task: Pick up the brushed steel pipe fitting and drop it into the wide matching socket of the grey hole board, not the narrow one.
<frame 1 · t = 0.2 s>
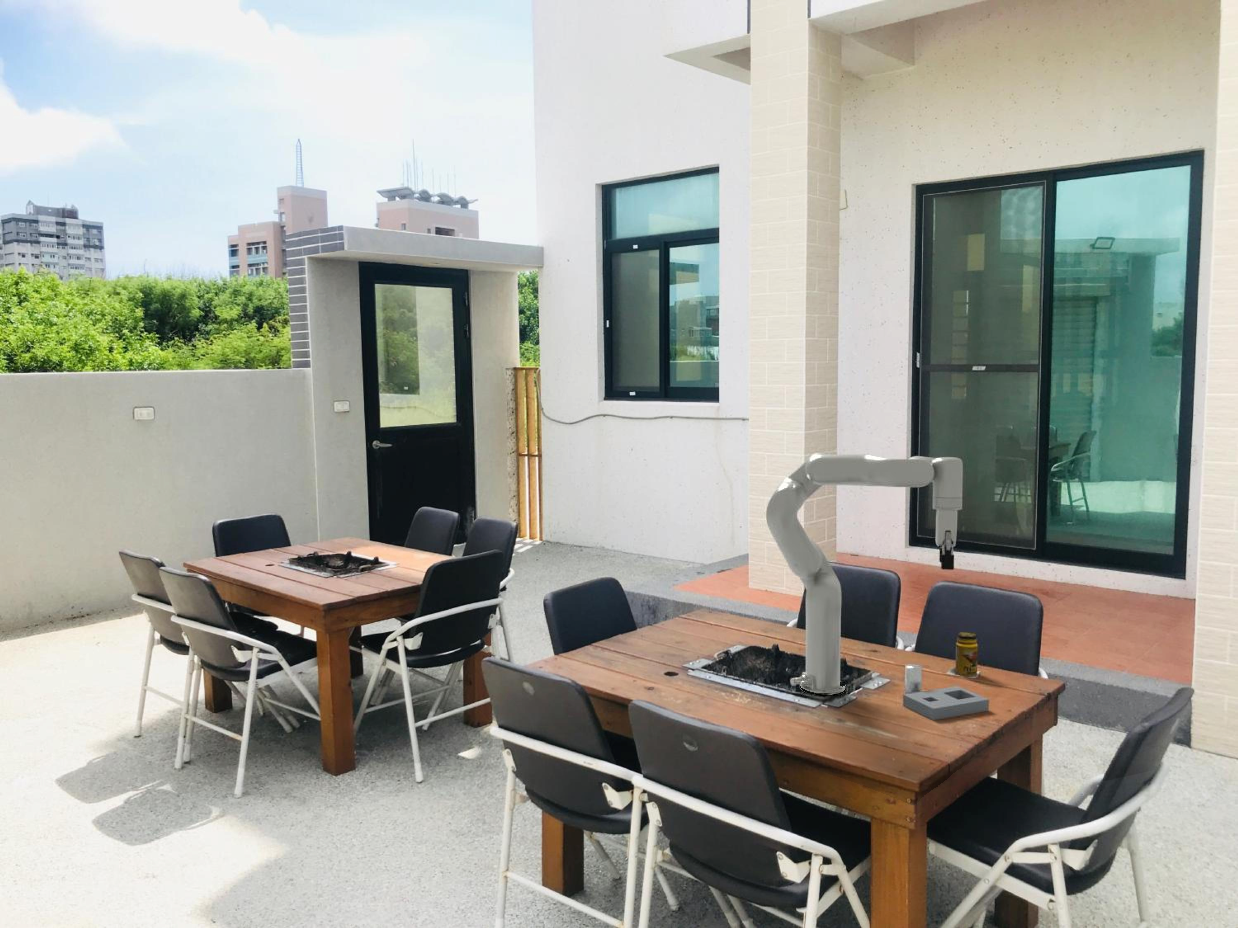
hand: (946, 565, 262), 36 cm above the table, tool pointing down, fingers open, 9 cm apart
fitting: (913, 694, 267), on the table
condiment: (963, 673, 286), on the table
grey hole board: (945, 707, 256), on the table
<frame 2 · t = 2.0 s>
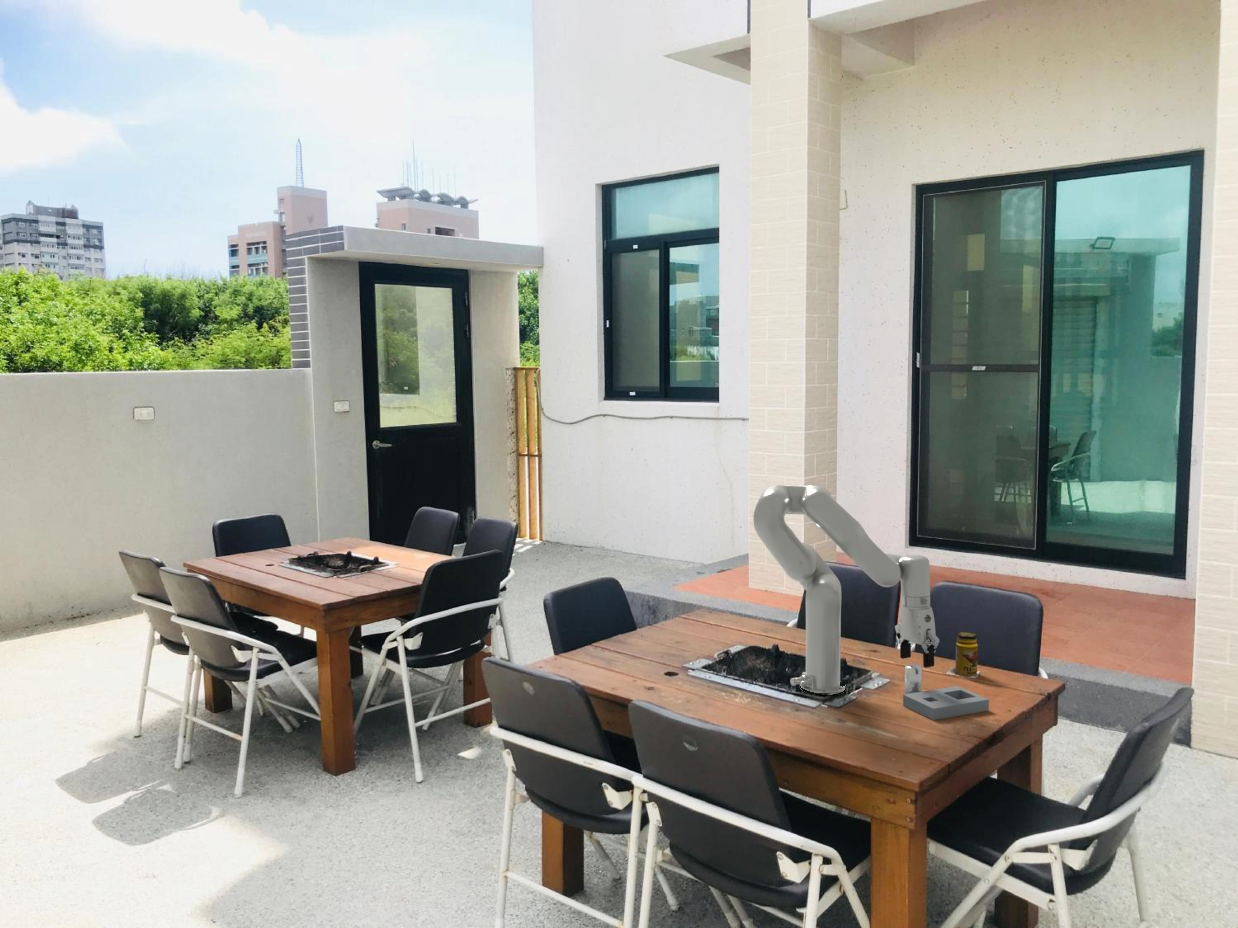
hand: (917, 662, 266), 9 cm above the table, tool pointing down, fingers open, 9 cm apart
nothing on the table moved.
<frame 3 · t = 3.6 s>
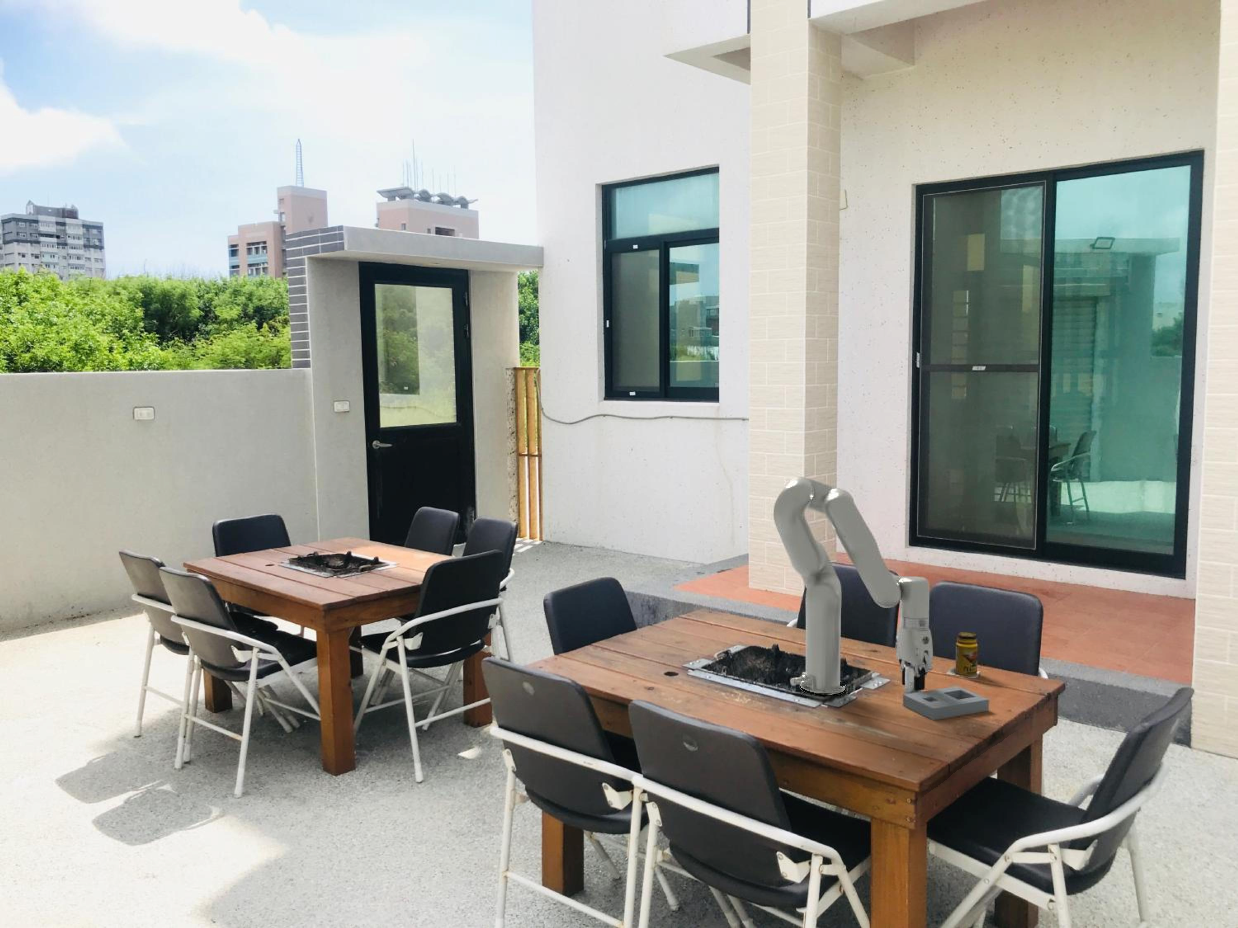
hand: (913, 686, 267), 2 cm above the table, tool pointing down, fingers closed on fitting, 4 cm apart
fitting: (913, 694, 267), on the table, touching gripper
everything else where it was.
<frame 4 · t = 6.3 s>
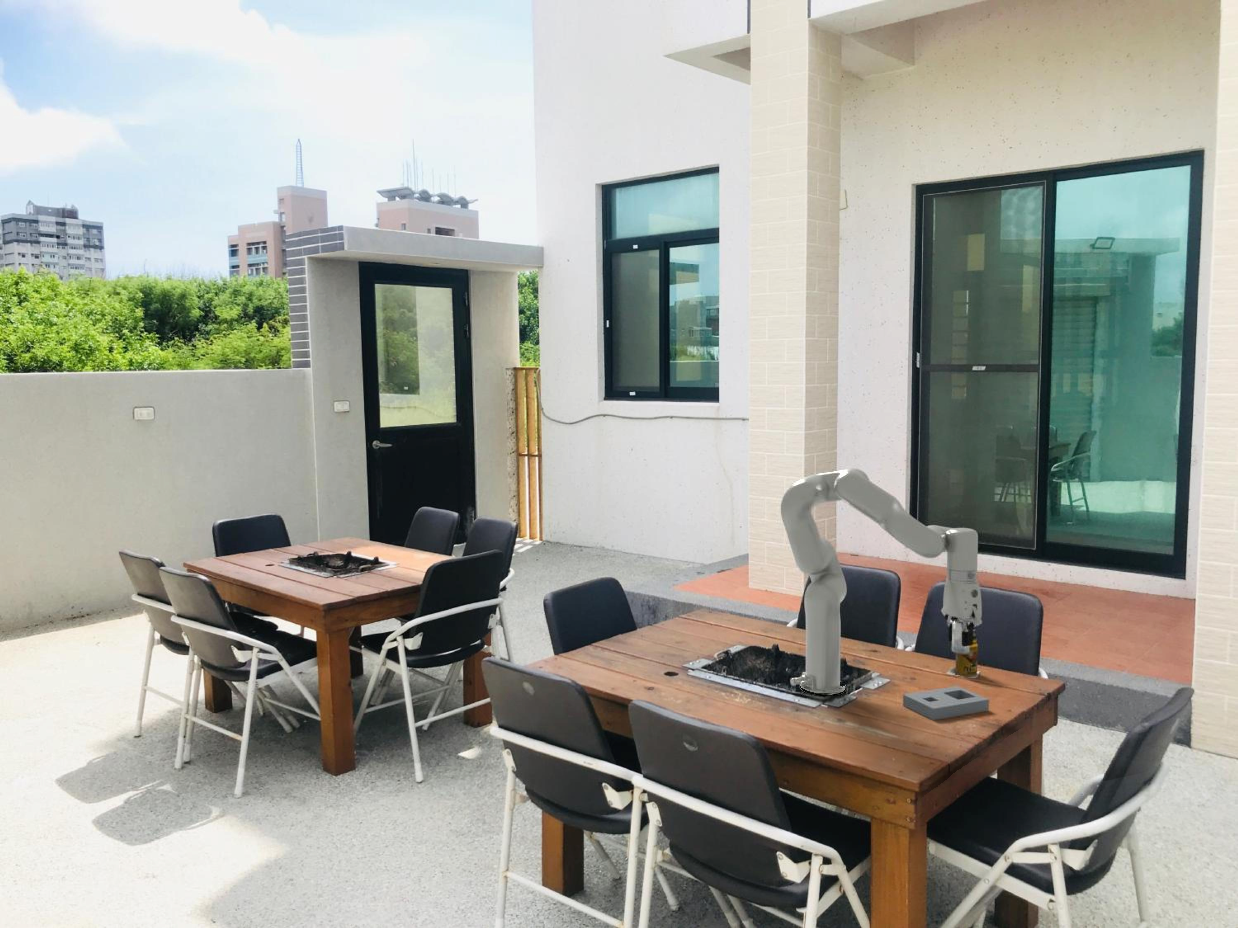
hand: (960, 642, 256), 17 cm above the table, tool pointing down, fingers closed on fitting, 4 cm apart
fitting: (960, 651, 257), point 15 cm above the table, touching gripper
everything else where it was.
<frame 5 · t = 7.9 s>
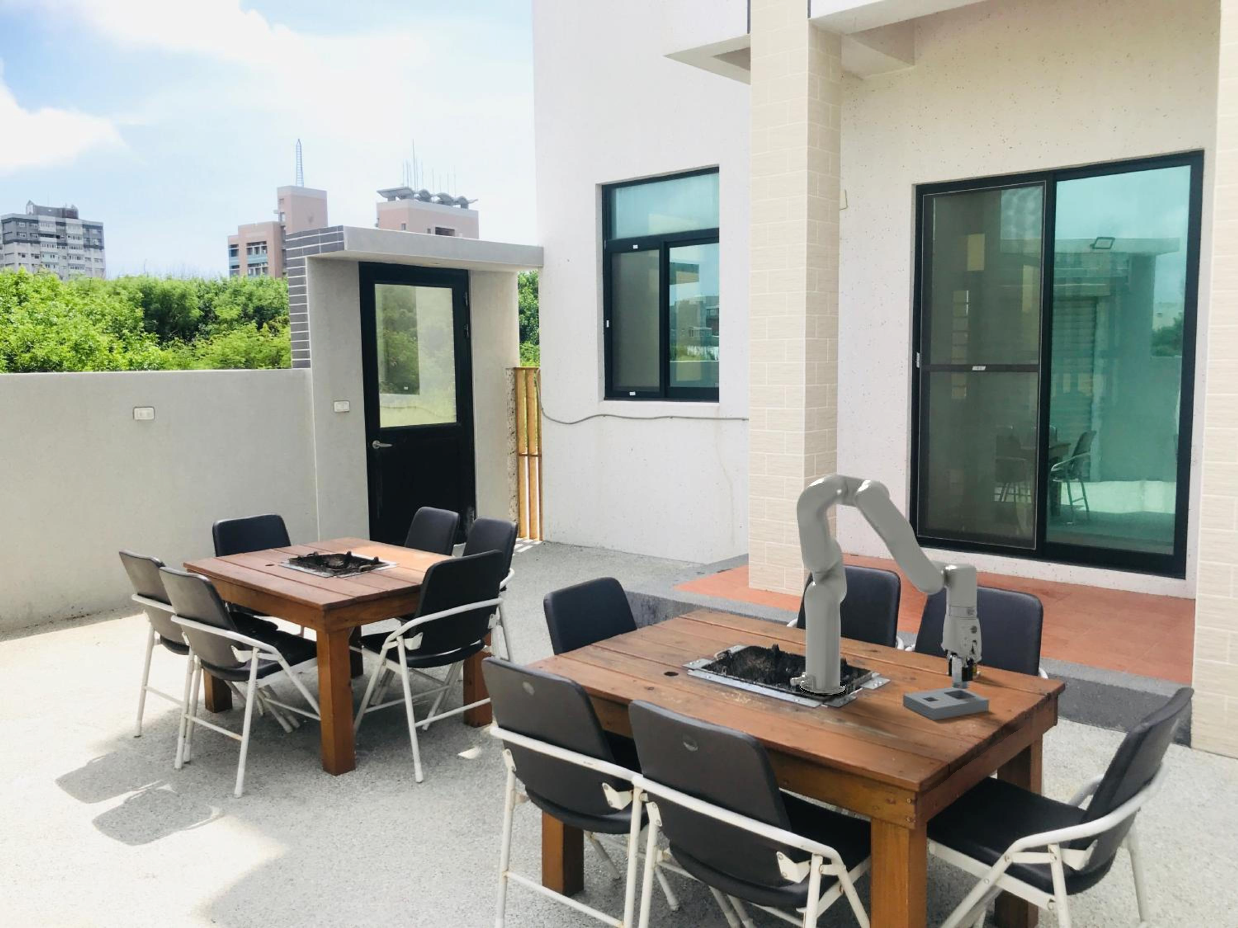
hand: (960, 677, 257), 8 cm above the table, tool pointing down, fingers closed on fitting, 4 cm apart
fitting: (960, 686, 257), point 5 cm above the table, touching gripper
everything else where it was.
when the fingers open (6 cm above the table, at t = 9.0 s): fitting drops 4 cm, resting in grey hole board.
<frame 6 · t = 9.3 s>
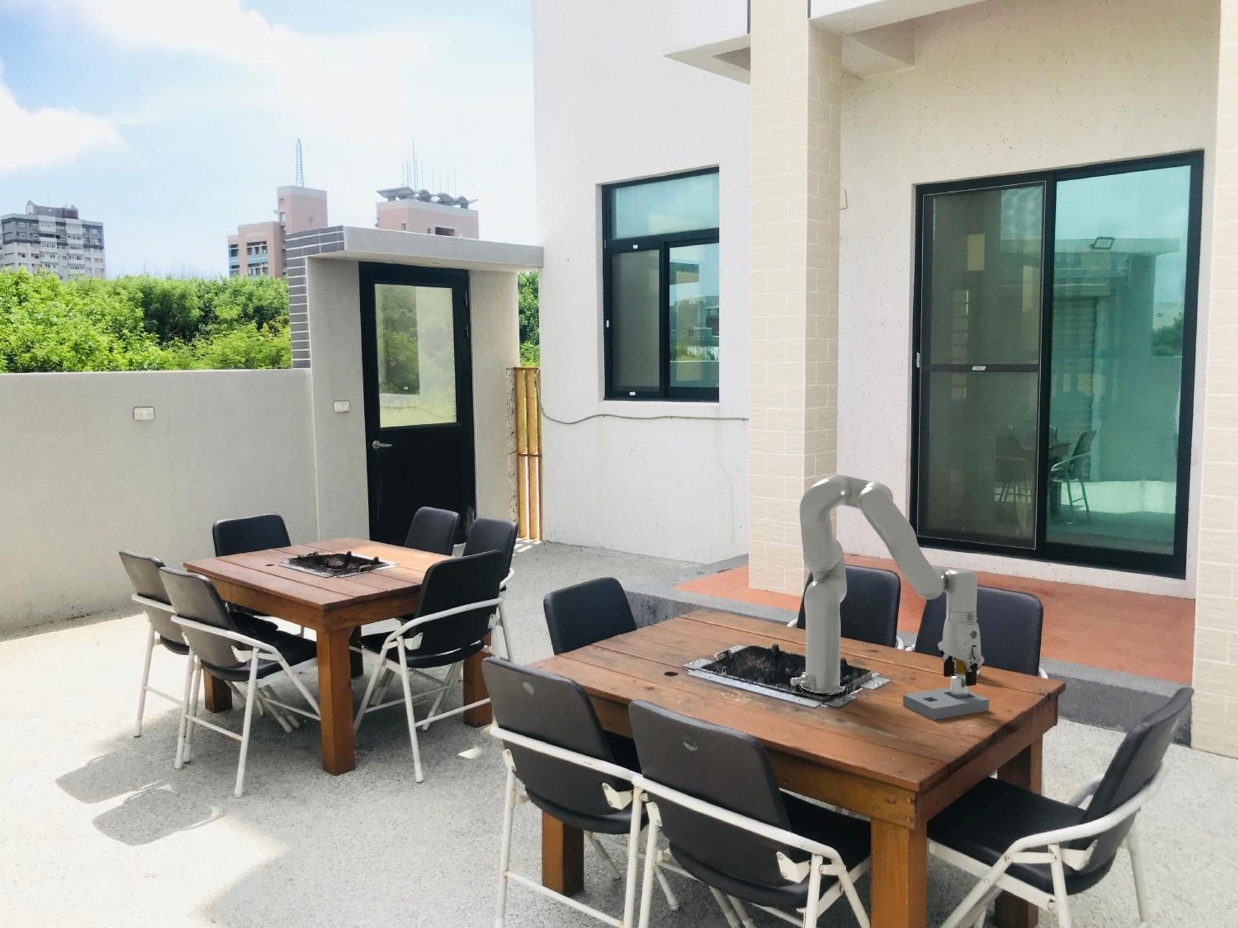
hand: (959, 680, 257), 7 cm above the table, tool pointing down, fingers open, 7 cm apart
fitting: (958, 705, 258), resting in grey hole board
everything else where it was.
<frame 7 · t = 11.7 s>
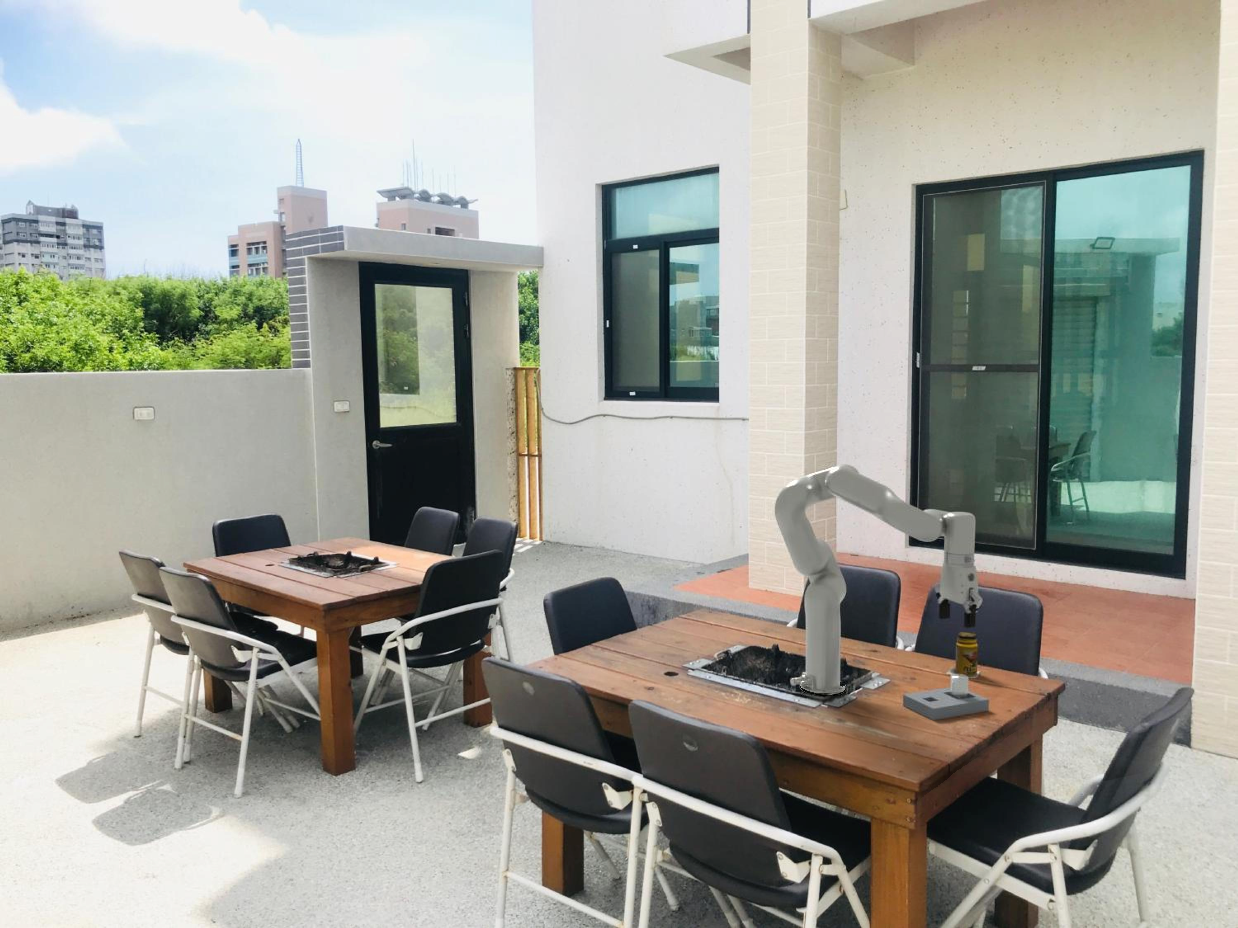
hand: (956, 622, 257), 22 cm above the table, tool pointing down, fingers open, 9 cm apart
nothing on the table moved.
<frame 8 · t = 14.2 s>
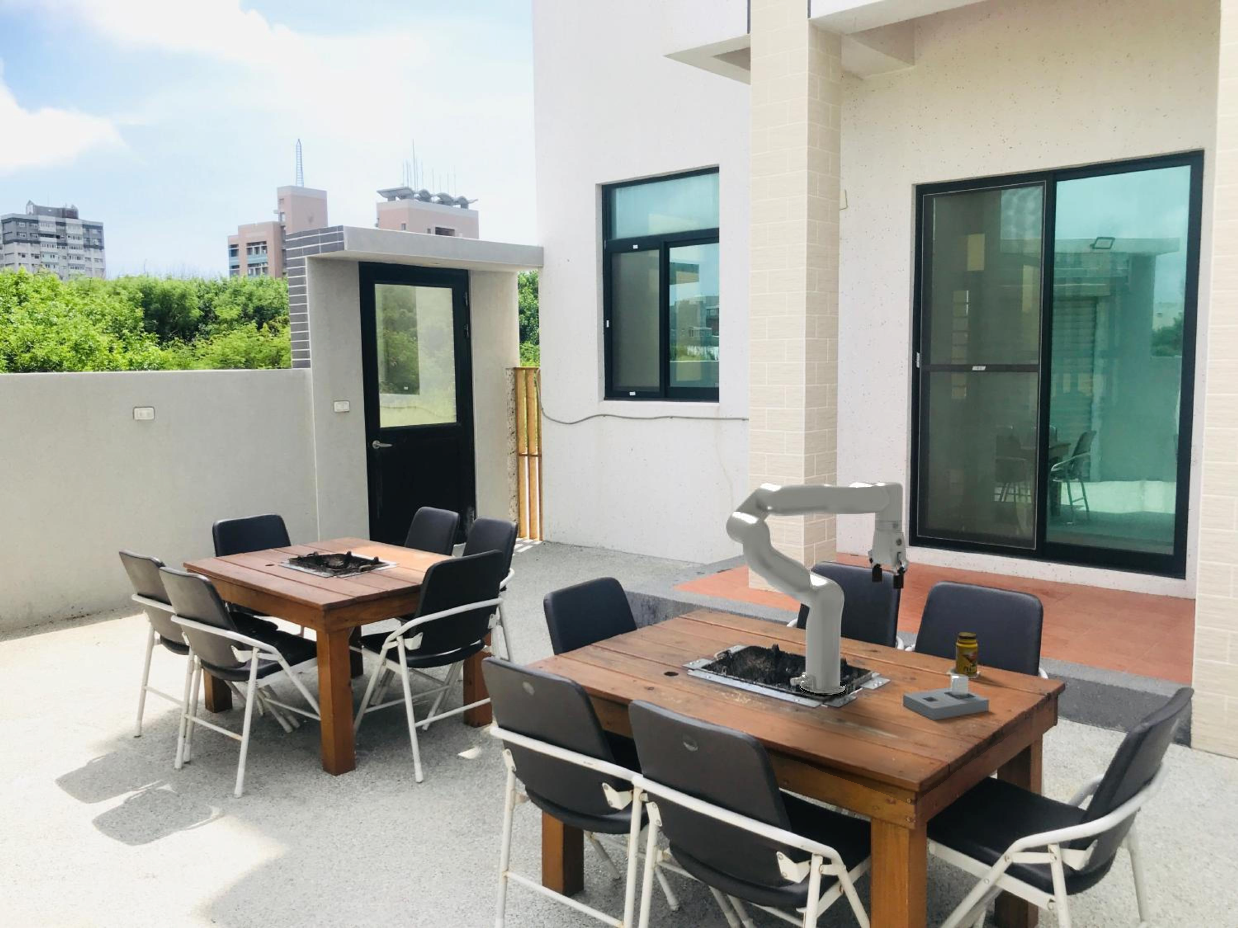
hand: (887, 585, 276), 28 cm above the table, tool pointing down, fingers open, 9 cm apart
nothing on the table moved.
at the end: fitting 0.1 cm from the target spot on the grey hole board, point 0.0 cm above the grey hole board's base; fitting tilted 0°; the gripper is holding nothing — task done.
